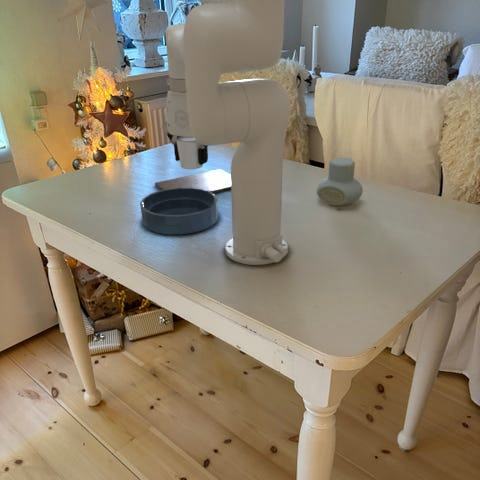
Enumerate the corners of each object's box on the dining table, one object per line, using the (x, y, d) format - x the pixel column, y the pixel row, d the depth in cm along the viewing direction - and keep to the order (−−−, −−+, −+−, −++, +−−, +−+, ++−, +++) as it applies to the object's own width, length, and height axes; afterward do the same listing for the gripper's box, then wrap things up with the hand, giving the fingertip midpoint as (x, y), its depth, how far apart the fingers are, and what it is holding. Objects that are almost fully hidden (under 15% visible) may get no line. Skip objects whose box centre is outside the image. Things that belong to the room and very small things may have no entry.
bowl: (231, 223, 111) (230, 204, 108) (161, 242, 103) (159, 222, 101) (196, 200, 123) (195, 182, 120) (131, 215, 116) (129, 197, 113)
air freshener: (365, 200, 120) (371, 160, 115) (352, 212, 115) (357, 169, 109) (325, 192, 125) (328, 153, 120) (310, 203, 120) (313, 162, 114)
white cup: (174, 169, 125) (171, 140, 121) (184, 160, 130) (182, 133, 126) (199, 171, 123) (197, 142, 119) (208, 162, 129) (207, 135, 125)
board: (245, 186, 130) (245, 183, 130) (177, 202, 122) (177, 198, 121) (219, 172, 140) (219, 169, 140) (155, 186, 132) (154, 182, 131)
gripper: (146, 85, 117) (155, 161, 127) (208, 91, 110) (212, 170, 120) (165, 80, 122) (172, 153, 132) (225, 85, 115) (227, 161, 125)
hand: (191, 160), depth 126 cm, fingers closed on white cup, 6 cm apart
